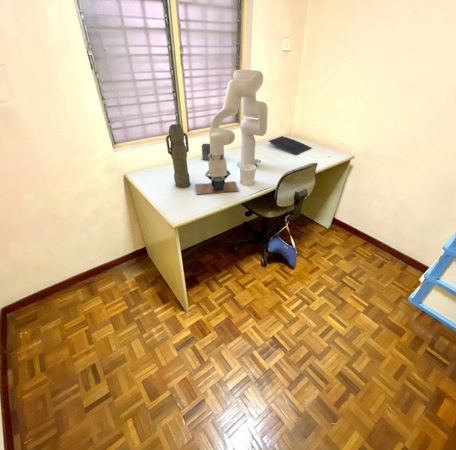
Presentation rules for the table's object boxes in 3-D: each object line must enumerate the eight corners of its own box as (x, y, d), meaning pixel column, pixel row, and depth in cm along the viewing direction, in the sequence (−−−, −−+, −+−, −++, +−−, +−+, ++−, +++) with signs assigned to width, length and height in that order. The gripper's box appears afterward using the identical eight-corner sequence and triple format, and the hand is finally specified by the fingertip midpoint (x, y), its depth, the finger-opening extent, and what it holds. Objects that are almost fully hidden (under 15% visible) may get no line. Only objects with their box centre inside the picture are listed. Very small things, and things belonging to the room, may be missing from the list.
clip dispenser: (221, 183, 153) (221, 174, 150) (223, 189, 147) (223, 179, 143) (213, 183, 152) (212, 174, 149) (214, 189, 146) (214, 180, 143)
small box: (217, 157, 191) (217, 143, 185) (216, 160, 185) (215, 146, 179) (204, 156, 191) (203, 143, 185) (202, 159, 186) (201, 145, 180)
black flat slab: (282, 138, 226) (283, 134, 223) (311, 150, 211) (312, 146, 209) (265, 144, 212) (266, 140, 209) (295, 158, 197) (296, 154, 195)
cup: (254, 186, 153) (255, 171, 147) (238, 185, 154) (238, 170, 148) (256, 179, 161) (257, 164, 155) (240, 178, 162) (241, 163, 156)
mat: (234, 182, 157) (234, 181, 157) (238, 191, 147) (238, 190, 147) (196, 185, 153) (195, 184, 153) (197, 194, 144) (197, 193, 143)
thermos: (170, 184, 153) (161, 125, 133) (187, 179, 159) (181, 121, 139) (177, 190, 148) (168, 129, 127) (194, 184, 154) (189, 125, 133)
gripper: (202, 159, 134) (204, 189, 145) (233, 157, 137) (233, 187, 148) (201, 154, 140) (203, 184, 151) (231, 153, 143) (231, 182, 154)
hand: (218, 185), depth 149 cm, fingers closed on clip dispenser, 5 cm apart
